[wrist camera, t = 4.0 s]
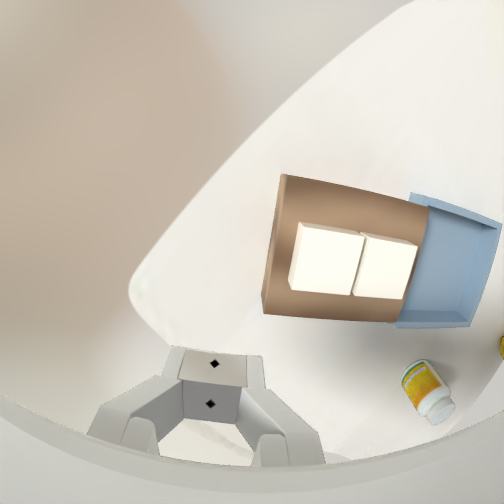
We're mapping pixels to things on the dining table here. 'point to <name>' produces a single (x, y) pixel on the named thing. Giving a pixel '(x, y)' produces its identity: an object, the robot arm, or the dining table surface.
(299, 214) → the flat wooden block
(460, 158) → the dining table surface
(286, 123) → the dining table surface
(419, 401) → the supplement bottle
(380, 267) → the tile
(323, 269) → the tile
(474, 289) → the box
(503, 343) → the lemon
